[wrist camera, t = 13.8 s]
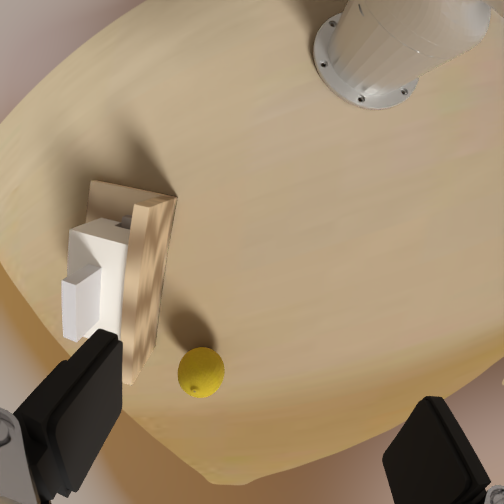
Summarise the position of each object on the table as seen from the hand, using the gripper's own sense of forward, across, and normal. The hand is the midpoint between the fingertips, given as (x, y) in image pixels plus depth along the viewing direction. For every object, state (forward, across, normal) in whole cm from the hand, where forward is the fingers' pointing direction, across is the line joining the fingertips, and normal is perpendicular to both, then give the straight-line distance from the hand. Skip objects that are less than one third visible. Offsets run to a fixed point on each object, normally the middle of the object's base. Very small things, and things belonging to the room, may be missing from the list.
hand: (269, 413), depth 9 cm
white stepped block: (+27, +16, +9) cm, 33 cm away
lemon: (+28, +4, +18) cm, 34 cm away
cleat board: (+28, +16, +9) cm, 34 cm away
